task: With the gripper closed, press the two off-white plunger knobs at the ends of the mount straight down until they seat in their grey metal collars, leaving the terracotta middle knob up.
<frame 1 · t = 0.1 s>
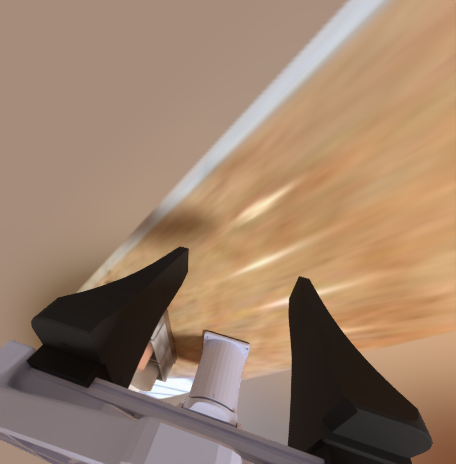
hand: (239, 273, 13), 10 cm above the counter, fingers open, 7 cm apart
mount: (154, 324, 37), on the counter
middle knob: (138, 351, 33), point 5 cm above the counter, slide at 0.0 cm
knob 2: (145, 372, 37), point 5 cm above the counter, slide at 0.0 cm
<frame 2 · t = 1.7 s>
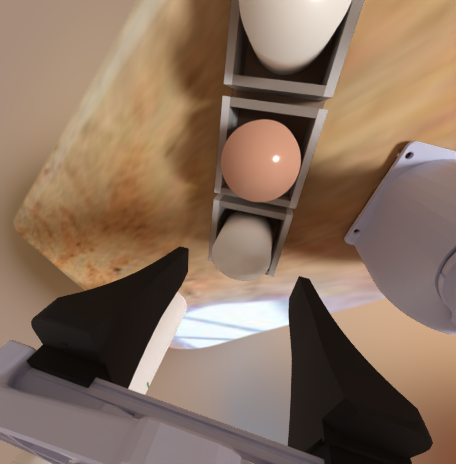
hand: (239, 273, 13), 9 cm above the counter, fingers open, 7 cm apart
mount: (266, 148, 18), on the counter
middle knob: (261, 158, 13), point 5 cm above the counter, slide at 0.0 cm
cylindrical container: (166, 300, 32), on the counter
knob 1: (293, 7, 10), point 5 cm above the counter, slide at 0.0 cm
knob 2: (244, 243, 17), point 5 cm above the counter, slide at 0.0 cm
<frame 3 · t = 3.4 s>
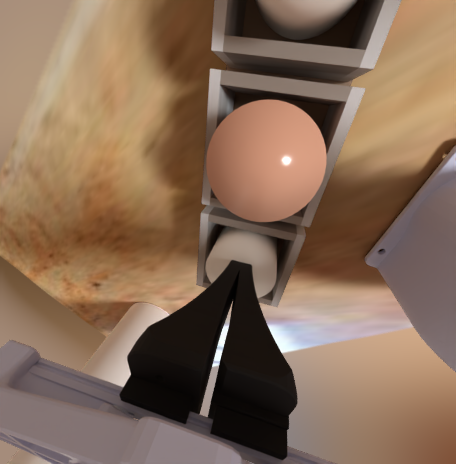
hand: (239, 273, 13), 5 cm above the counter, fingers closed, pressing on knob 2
mount: (270, 146, 14), on the counter
middle knob: (265, 160, 9), point 5 cm above the counter, slide at 0.0 cm
cylindrical container: (153, 318, 28), on the counter
knob 2: (244, 255, 14), point 3 cm above the counter, slide at 1.5 cm, touching gripper
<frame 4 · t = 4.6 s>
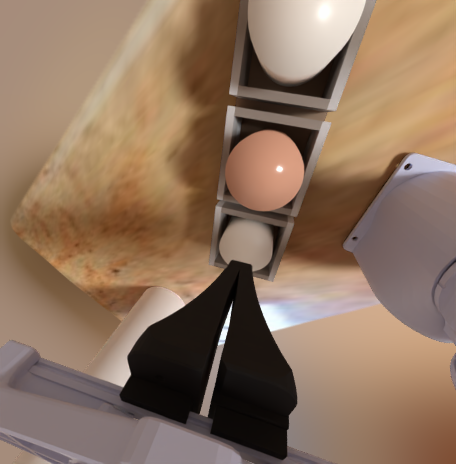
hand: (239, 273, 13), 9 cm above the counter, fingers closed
mount: (268, 155, 18), on the counter
middle knob: (265, 168, 13), point 5 cm above the counter, slide at 0.0 cm
cylindrical container: (165, 301, 32), on the counter
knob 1: (299, 24, 10), point 5 cm above the counter, slide at 0.0 cm
knob 2: (248, 238, 19), point 3 cm above the counter, slide at 1.9 cm
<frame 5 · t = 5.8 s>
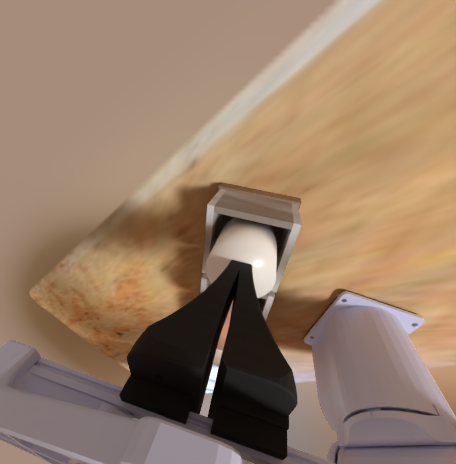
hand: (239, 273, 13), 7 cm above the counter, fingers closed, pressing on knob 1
mount: (240, 278, 22), on the counter
middle knob: (230, 315, 18), point 5 cm above the counter, slide at 0.0 cm
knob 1: (244, 255, 15), point 5 cm above the counter, slide at 0.0 cm, touching gripper
knob 2: (225, 339, 23), point 3 cm above the counter, slide at 1.9 cm
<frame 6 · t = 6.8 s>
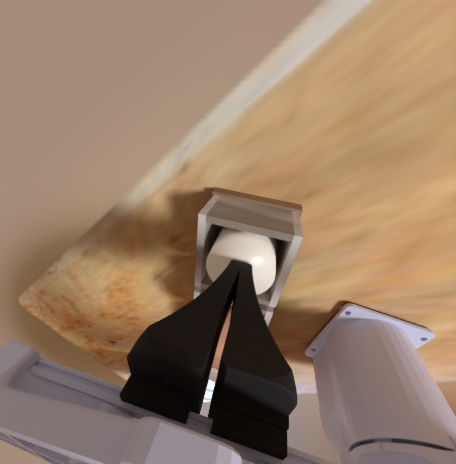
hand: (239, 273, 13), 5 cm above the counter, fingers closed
mount: (237, 288, 21), on the counter
middle knob: (226, 331, 17), point 5 cm above the counter, slide at 0.0 cm
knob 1: (244, 253, 15), point 3 cm above the counter, slide at 1.9 cm
knob 2: (221, 352, 22), point 3 cm above the counter, slide at 1.9 cm
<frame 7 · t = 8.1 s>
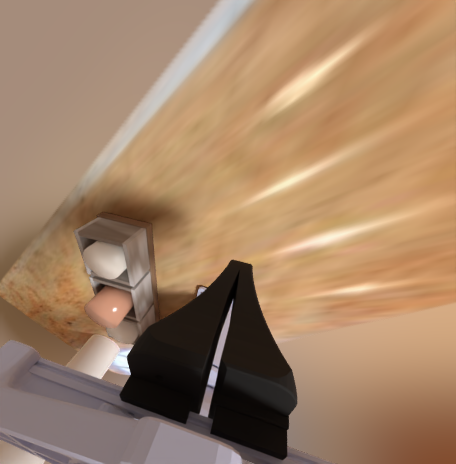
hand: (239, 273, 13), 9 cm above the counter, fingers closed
mount: (136, 277, 30), on the counter
middle knob: (113, 303, 26), point 5 cm above the counter, slide at 0.0 cm
cylindrical container: (106, 343, 45), on the counter
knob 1: (114, 253, 24), point 3 cm above the counter, slide at 1.9 cm
knob 2: (129, 322, 32), point 3 cm above the counter, slide at 1.9 cm
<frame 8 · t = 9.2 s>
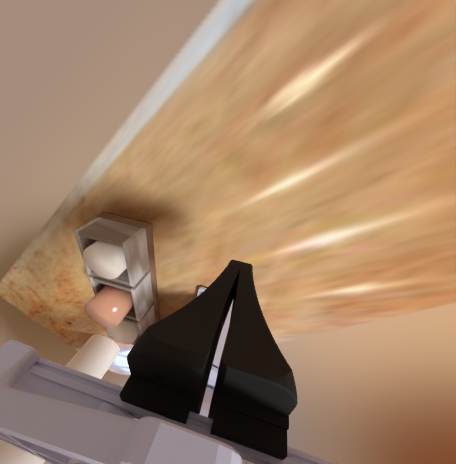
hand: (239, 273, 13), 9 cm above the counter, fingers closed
mount: (136, 277, 30), on the counter
middle knob: (113, 303, 26), point 5 cm above the counter, slide at 0.0 cm
cylindrical container: (106, 343, 45), on the counter
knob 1: (114, 253, 24), point 3 cm above the counter, slide at 1.9 cm
knob 2: (129, 322, 32), point 3 cm above the counter, slide at 1.9 cm
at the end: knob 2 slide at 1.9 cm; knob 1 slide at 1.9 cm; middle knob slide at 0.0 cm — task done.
